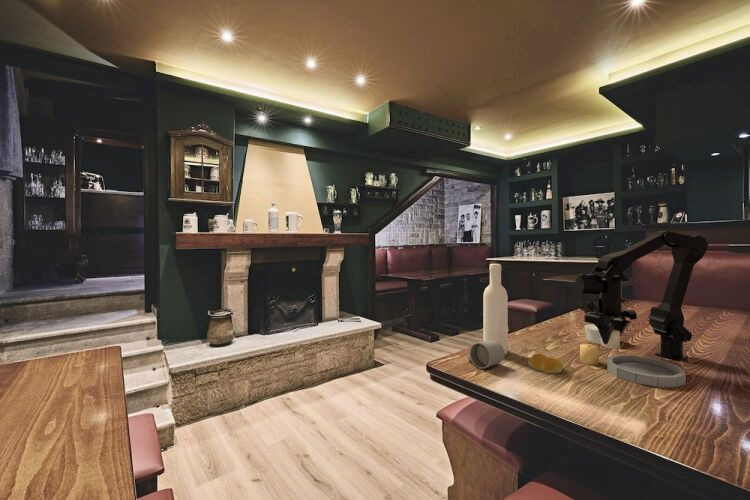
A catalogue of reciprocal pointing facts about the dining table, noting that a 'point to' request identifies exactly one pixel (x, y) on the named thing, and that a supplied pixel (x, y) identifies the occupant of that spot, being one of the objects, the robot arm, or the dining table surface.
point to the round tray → (646, 371)
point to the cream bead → (613, 340)
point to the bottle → (495, 309)
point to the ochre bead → (589, 354)
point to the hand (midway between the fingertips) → (610, 342)
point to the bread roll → (545, 364)
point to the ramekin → (593, 333)
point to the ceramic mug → (486, 354)
